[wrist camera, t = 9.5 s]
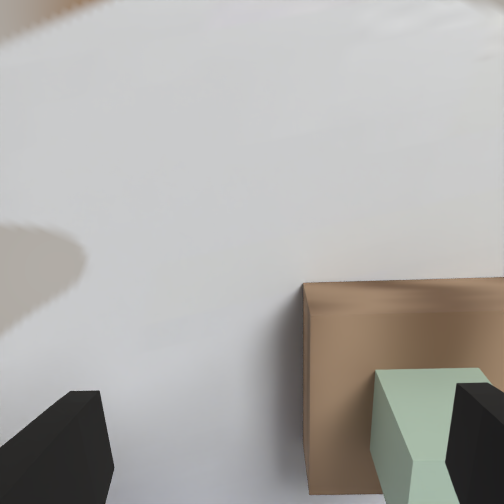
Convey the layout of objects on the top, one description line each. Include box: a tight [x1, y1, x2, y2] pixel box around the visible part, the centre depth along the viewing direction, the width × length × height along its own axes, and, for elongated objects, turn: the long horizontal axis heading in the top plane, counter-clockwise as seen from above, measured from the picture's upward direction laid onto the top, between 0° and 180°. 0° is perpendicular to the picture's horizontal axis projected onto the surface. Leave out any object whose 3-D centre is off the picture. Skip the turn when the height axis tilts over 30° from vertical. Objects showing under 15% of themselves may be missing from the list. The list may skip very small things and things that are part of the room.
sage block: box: [370, 368, 492, 504], centre depth 16 cm, size 4×4×4 cm
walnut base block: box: [303, 277, 504, 495], centre depth 19 cm, size 9×9×3 cm
